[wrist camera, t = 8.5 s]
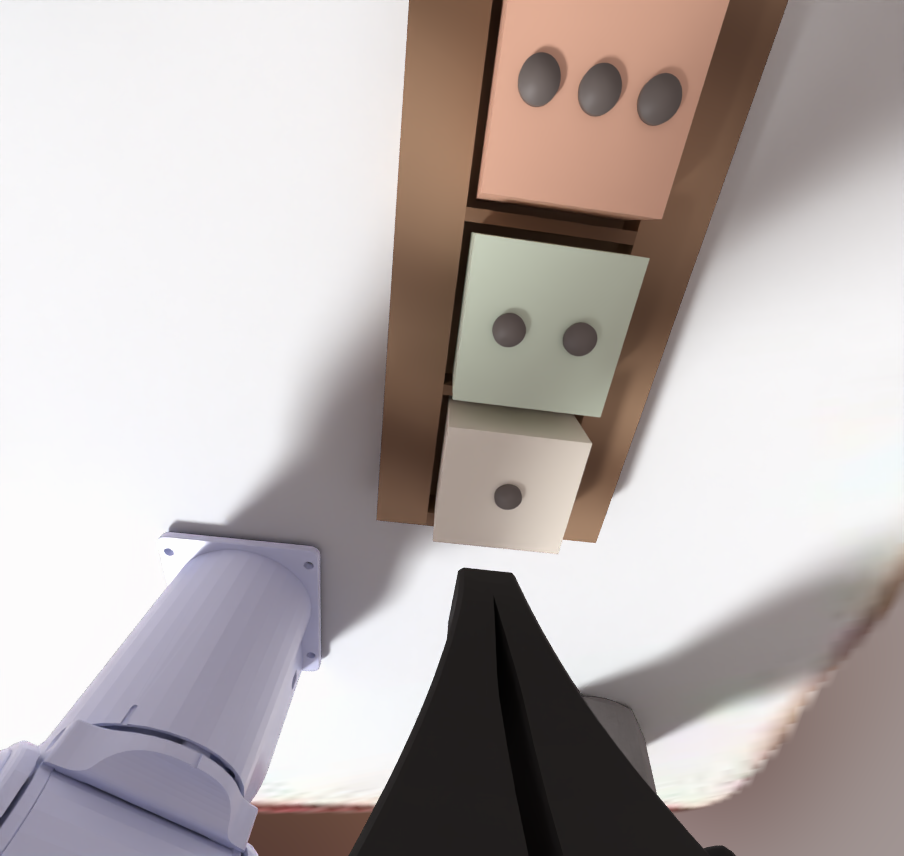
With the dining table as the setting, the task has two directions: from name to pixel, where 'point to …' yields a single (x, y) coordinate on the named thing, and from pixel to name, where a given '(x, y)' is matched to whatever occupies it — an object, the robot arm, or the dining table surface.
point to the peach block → (594, 103)
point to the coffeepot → (632, 744)
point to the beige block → (508, 476)
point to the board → (459, 213)
